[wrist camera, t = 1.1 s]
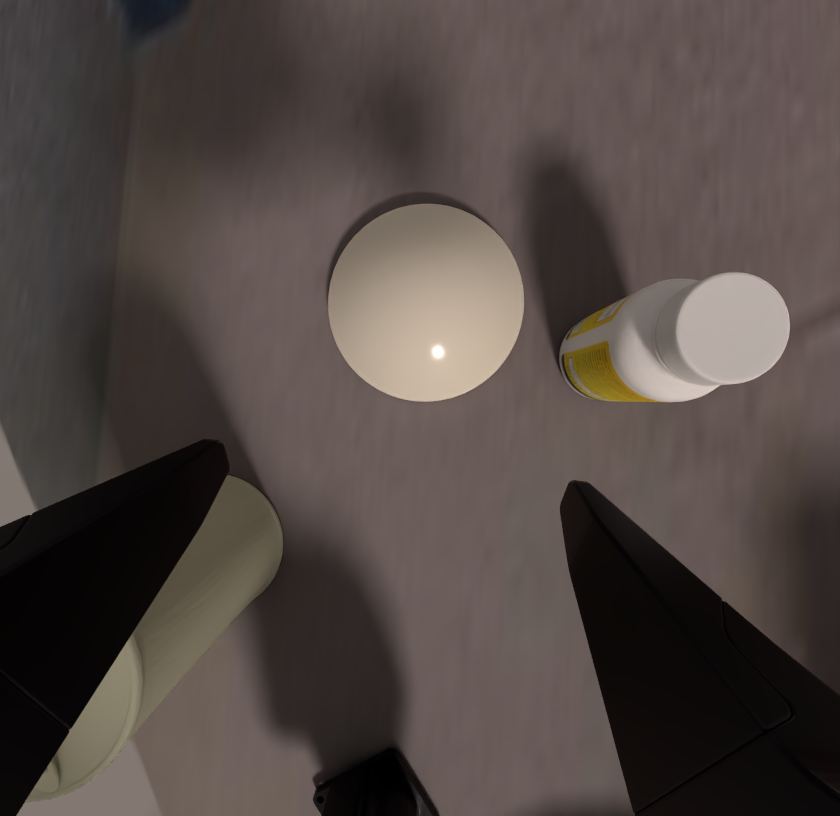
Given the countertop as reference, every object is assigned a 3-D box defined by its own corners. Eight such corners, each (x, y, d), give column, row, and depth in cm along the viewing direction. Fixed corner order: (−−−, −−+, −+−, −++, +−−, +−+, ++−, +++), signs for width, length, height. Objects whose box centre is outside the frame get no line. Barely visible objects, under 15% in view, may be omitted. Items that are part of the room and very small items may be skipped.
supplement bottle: (630, 410, 22) (785, 422, 12) (546, 388, 22) (634, 382, 13) (655, 327, 22) (833, 271, 12) (570, 305, 22) (678, 233, 12)
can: (177, 624, 24) (-79, 852, 12) (132, 497, 24) (-175, 600, 12) (302, 584, 24) (165, 781, 12) (257, 455, 23) (70, 518, 11)
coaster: (555, 338, 22) (561, 336, 21) (394, 435, 23) (392, 437, 22) (457, 175, 22) (458, 164, 21) (298, 277, 23) (292, 271, 22)
